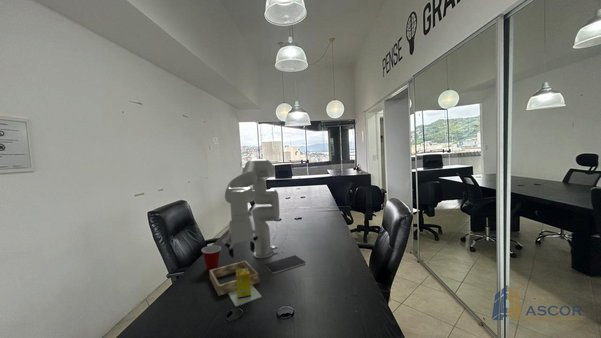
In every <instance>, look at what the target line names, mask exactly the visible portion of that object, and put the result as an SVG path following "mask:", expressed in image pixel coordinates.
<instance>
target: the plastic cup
mask: <svg viewBox="0 0 601 338" xmlns="http://www.w3.org/2000/svg"><path fill="white" fill-rule="evenodd" d="M221 250H222V247H221V246H219V245H213V244H212V245H208V246H204V247H203V248H201V253H202V255H203V258H204V263H205V267H206V269H207V271H209V270H213V269H216V268H219V258H220V252H221Z"/></svg>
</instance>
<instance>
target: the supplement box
mask: <svg viewBox="0 0 601 338" xmlns="http://www.w3.org/2000/svg"><path fill="white" fill-rule="evenodd" d="M235 277H236V279H235V280H237V293H238V299H241V298H246V297H251V285H250V273H249V268H245V269H240V270H236V272H235Z"/></svg>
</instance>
